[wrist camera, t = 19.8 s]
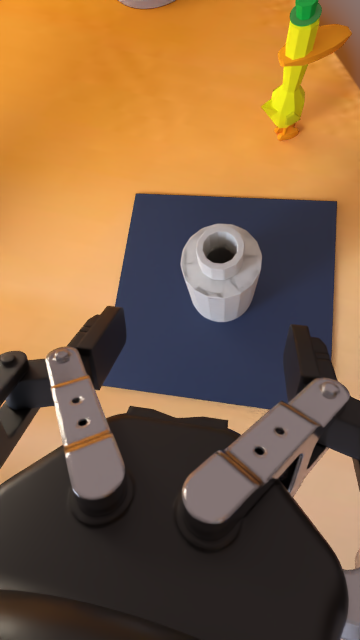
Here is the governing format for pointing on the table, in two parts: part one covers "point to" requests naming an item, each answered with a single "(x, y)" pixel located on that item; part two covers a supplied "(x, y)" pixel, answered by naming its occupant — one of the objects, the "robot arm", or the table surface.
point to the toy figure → (301, 63)
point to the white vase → (221, 271)
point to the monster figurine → (145, 3)
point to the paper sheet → (233, 336)
